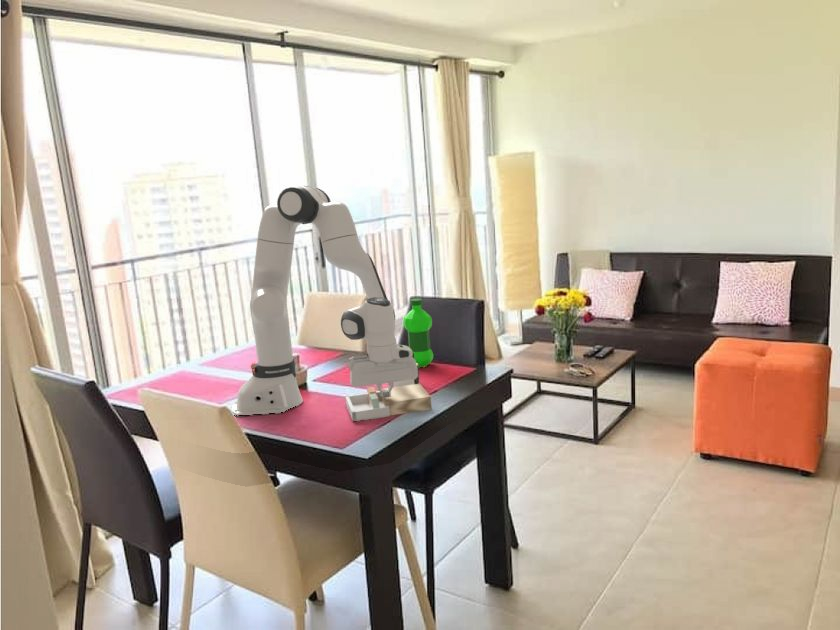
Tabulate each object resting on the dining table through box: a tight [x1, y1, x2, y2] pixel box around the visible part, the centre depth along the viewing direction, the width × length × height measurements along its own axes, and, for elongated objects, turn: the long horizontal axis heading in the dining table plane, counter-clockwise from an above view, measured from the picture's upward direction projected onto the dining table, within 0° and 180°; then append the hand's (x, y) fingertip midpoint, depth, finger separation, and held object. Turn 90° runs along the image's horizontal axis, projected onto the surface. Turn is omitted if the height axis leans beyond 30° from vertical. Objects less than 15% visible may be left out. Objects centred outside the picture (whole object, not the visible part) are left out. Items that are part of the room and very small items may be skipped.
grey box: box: [344, 390, 391, 422], centre depth 203 cm, size 11×16×3 cm
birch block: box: [381, 383, 432, 416], centre depth 205 cm, size 13×14×4 cm
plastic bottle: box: [402, 298, 434, 368], centre depth 245 cm, size 10×10×25 cm
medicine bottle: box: [393, 353, 420, 387], centre depth 223 cm, size 7×7×12 cm
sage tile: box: [369, 394, 379, 408], centre depth 200 cm, size 5×5×2 cm
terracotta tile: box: [366, 386, 377, 407], centre depth 207 cm, size 5×5×2 cm
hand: (385, 396), depth 200 cm, fingers closed
